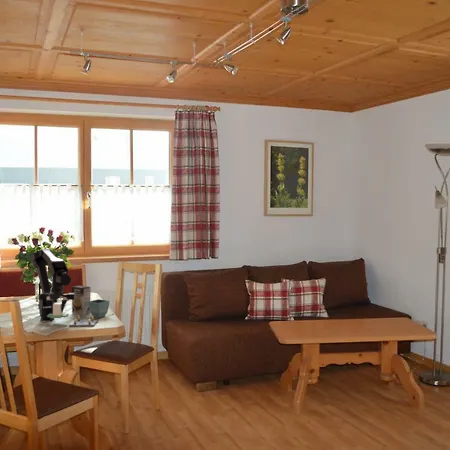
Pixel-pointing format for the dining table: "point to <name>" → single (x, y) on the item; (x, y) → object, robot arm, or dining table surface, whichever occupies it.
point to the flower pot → (98, 307)
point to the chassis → (84, 322)
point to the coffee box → (81, 300)
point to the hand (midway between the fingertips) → (58, 312)
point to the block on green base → (57, 311)
